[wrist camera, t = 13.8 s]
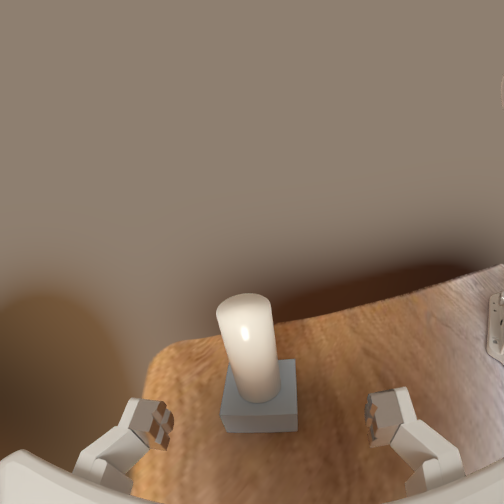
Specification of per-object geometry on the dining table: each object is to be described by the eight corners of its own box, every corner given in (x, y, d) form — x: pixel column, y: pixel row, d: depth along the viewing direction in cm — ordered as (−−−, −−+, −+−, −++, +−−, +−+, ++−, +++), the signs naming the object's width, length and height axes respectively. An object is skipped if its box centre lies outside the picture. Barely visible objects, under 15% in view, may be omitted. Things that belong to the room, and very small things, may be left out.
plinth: (234, 381, 36) (229, 362, 34) (296, 379, 34) (295, 358, 33) (227, 432, 28) (219, 415, 27) (297, 431, 27) (297, 413, 26)
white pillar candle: (251, 366, 33) (234, 289, 28) (288, 377, 30) (279, 298, 26) (229, 394, 29) (205, 318, 24) (268, 408, 27) (253, 331, 22)
